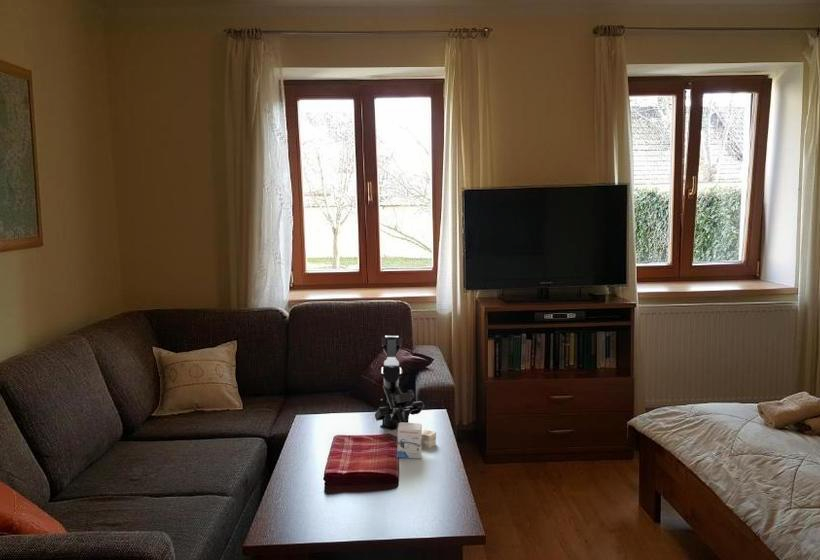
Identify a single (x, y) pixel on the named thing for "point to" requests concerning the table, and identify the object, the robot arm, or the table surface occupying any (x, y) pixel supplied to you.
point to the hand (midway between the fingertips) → (407, 431)
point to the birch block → (428, 438)
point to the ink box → (409, 440)
